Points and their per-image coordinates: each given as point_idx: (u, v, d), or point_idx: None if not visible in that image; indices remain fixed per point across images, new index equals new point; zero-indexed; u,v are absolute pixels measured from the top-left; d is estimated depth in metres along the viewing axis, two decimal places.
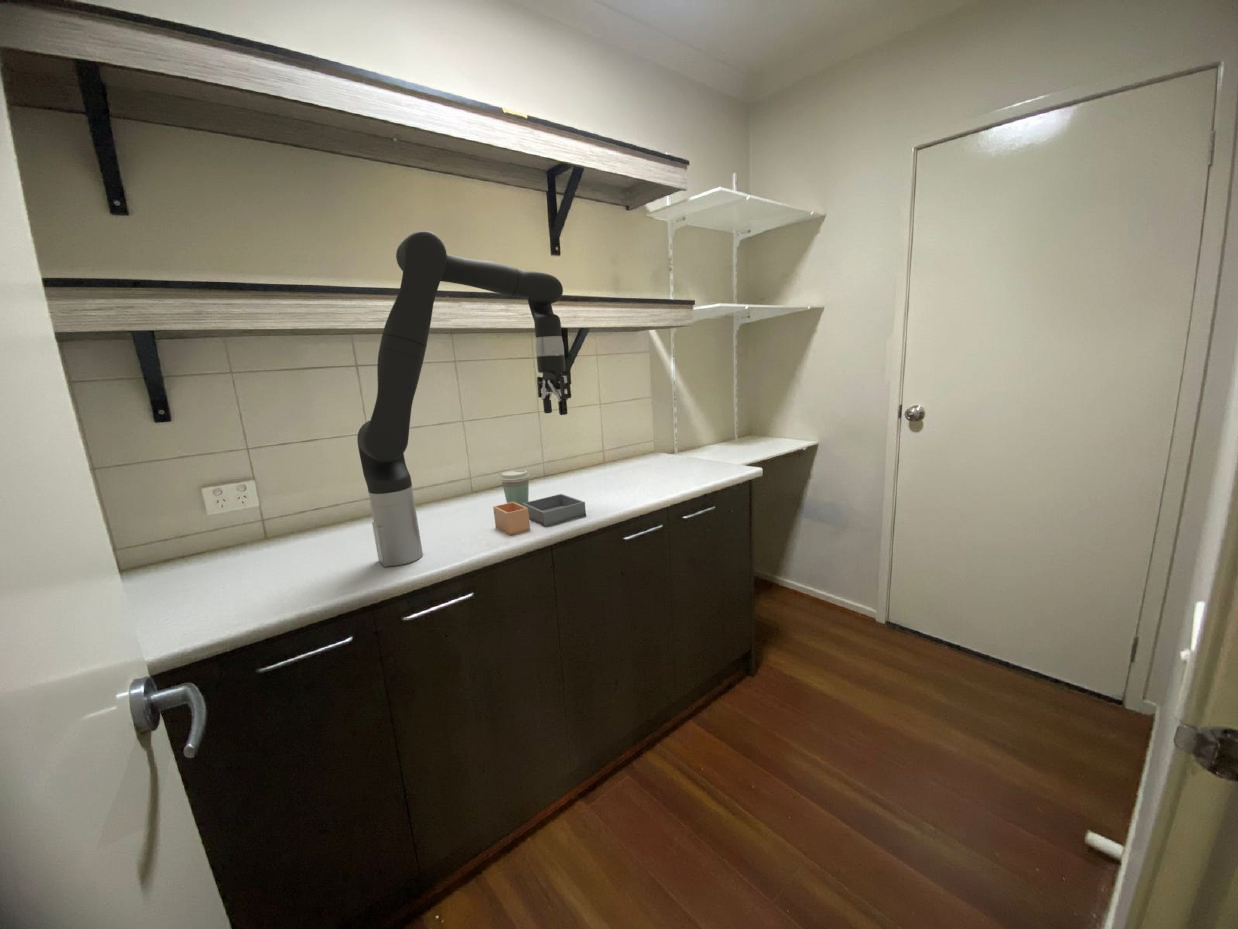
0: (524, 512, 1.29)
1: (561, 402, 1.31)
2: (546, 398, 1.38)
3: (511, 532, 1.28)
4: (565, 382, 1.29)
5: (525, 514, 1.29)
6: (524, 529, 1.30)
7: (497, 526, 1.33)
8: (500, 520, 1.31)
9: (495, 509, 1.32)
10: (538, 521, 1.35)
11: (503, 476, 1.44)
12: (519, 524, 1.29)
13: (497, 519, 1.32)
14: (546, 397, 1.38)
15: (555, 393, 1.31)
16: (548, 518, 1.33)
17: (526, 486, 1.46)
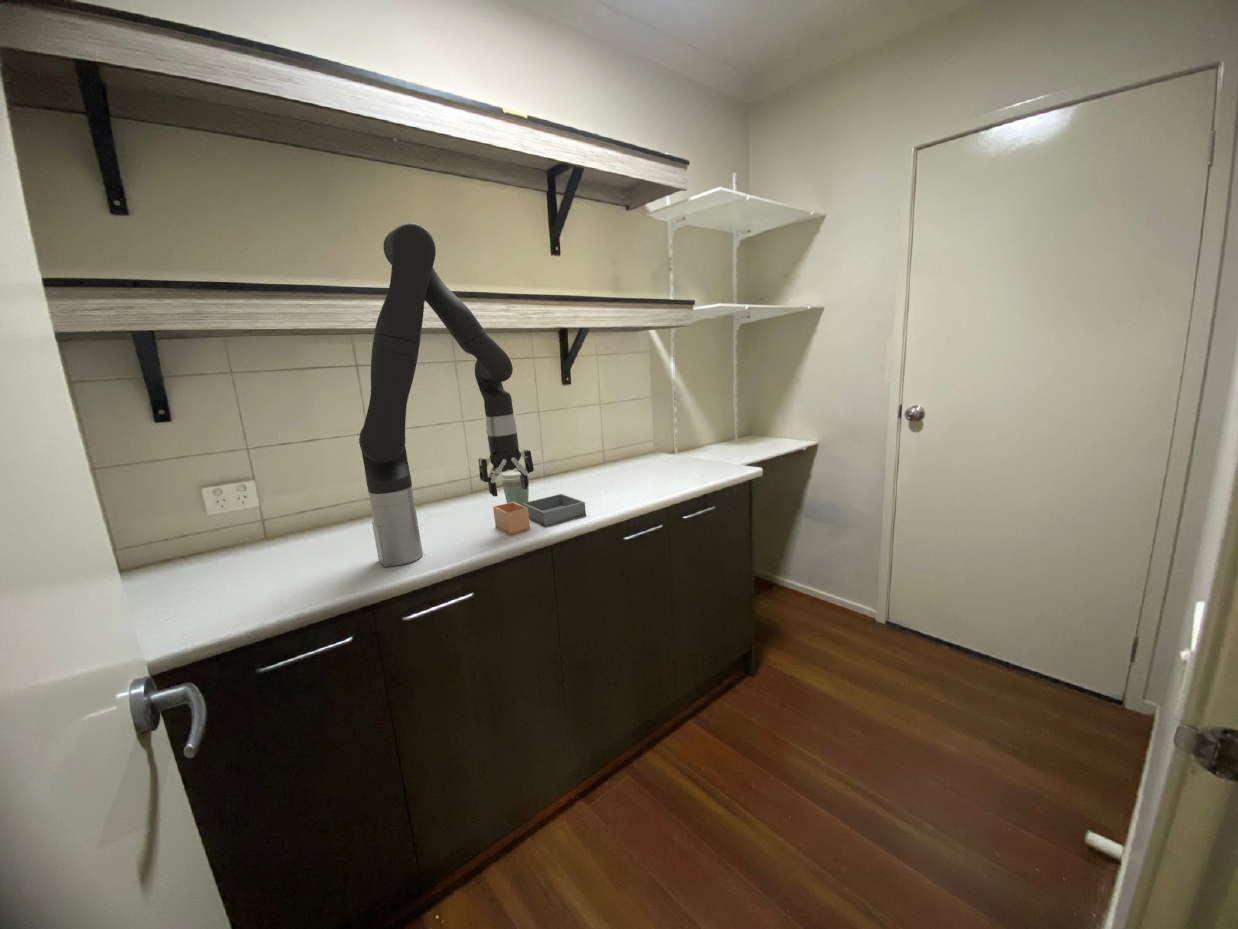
0: (524, 512, 1.29)
1: (526, 476, 1.32)
2: None
3: (511, 532, 1.28)
4: None
5: (525, 514, 1.29)
6: (524, 529, 1.30)
7: (497, 526, 1.33)
8: (500, 520, 1.31)
9: (495, 509, 1.32)
10: (538, 521, 1.35)
11: (503, 476, 1.44)
12: (519, 524, 1.29)
13: (497, 519, 1.32)
14: None
15: (521, 469, 1.30)
16: (548, 518, 1.33)
17: None
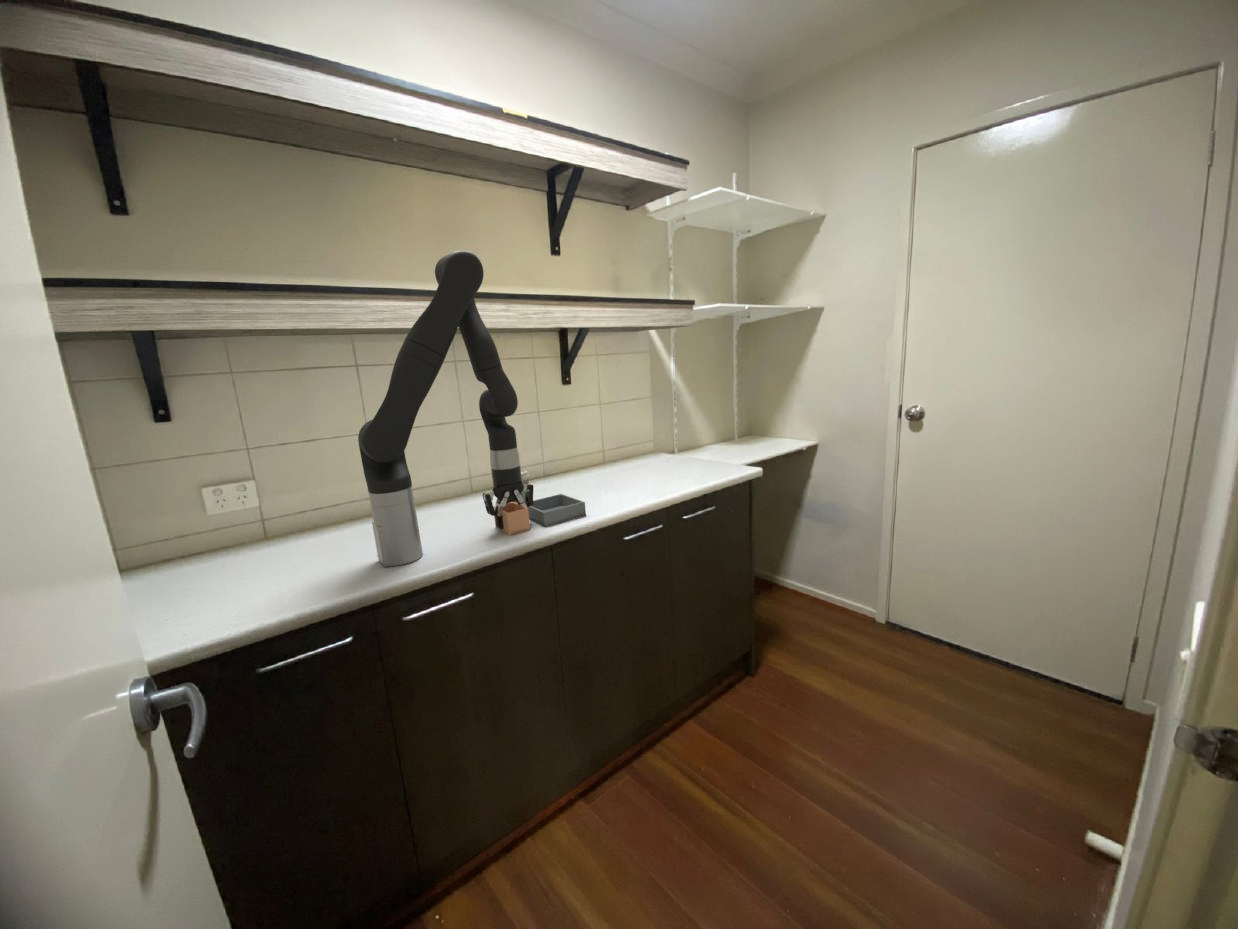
0: (524, 512, 1.29)
1: None
2: None
3: (511, 532, 1.28)
4: None
5: (525, 514, 1.29)
6: (524, 529, 1.30)
7: None
8: None
9: None
10: (538, 521, 1.35)
11: None
12: (519, 524, 1.29)
13: None
14: None
15: (522, 502, 1.32)
16: (548, 518, 1.33)
17: None
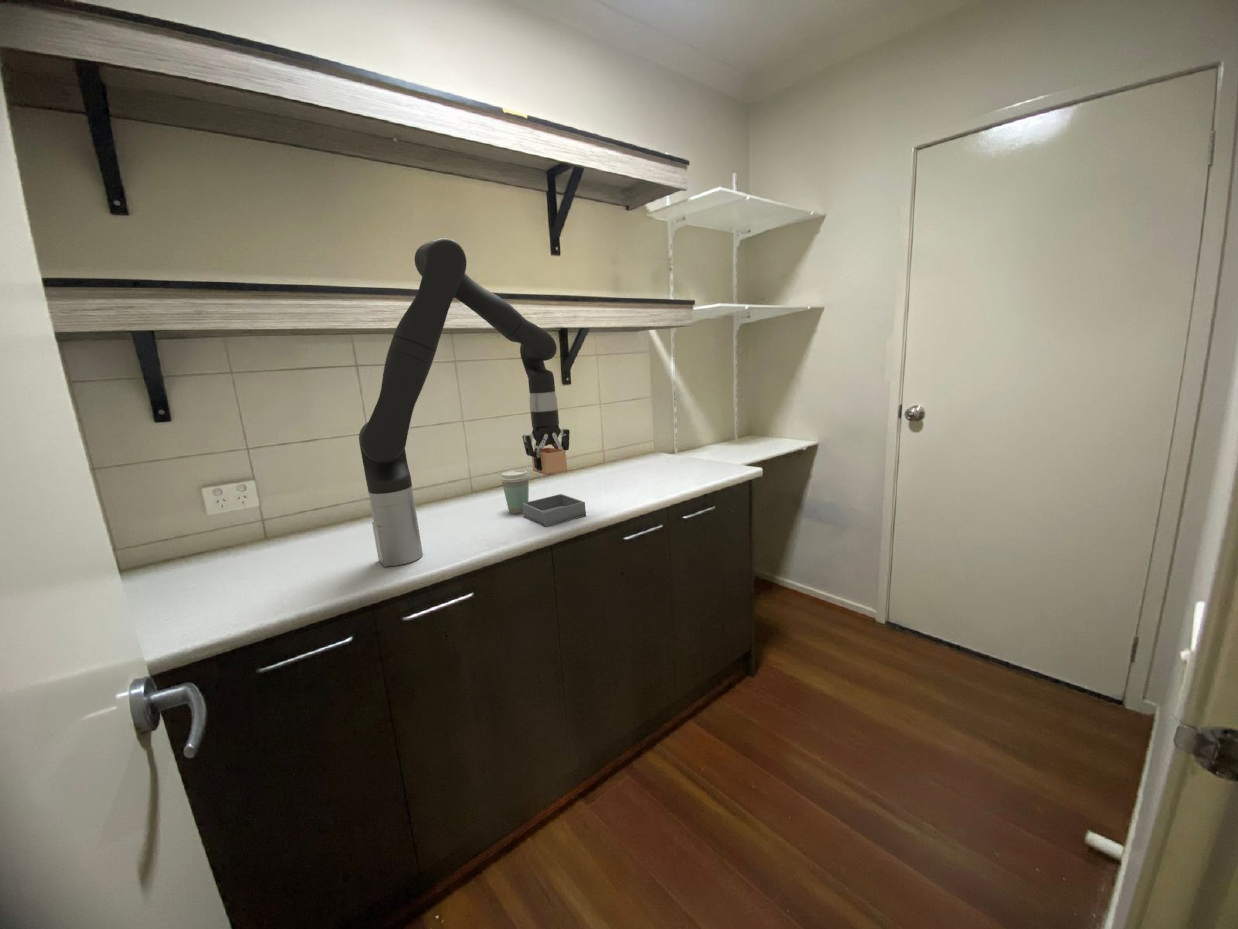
0: (561, 454, 1.35)
1: None
2: None
3: (550, 472, 1.33)
4: None
5: (562, 456, 1.35)
6: (562, 470, 1.35)
7: (535, 469, 1.39)
8: None
9: None
10: (538, 521, 1.35)
11: (503, 476, 1.44)
12: (557, 465, 1.34)
13: None
14: None
15: (559, 446, 1.37)
16: (548, 518, 1.33)
17: (526, 486, 1.46)
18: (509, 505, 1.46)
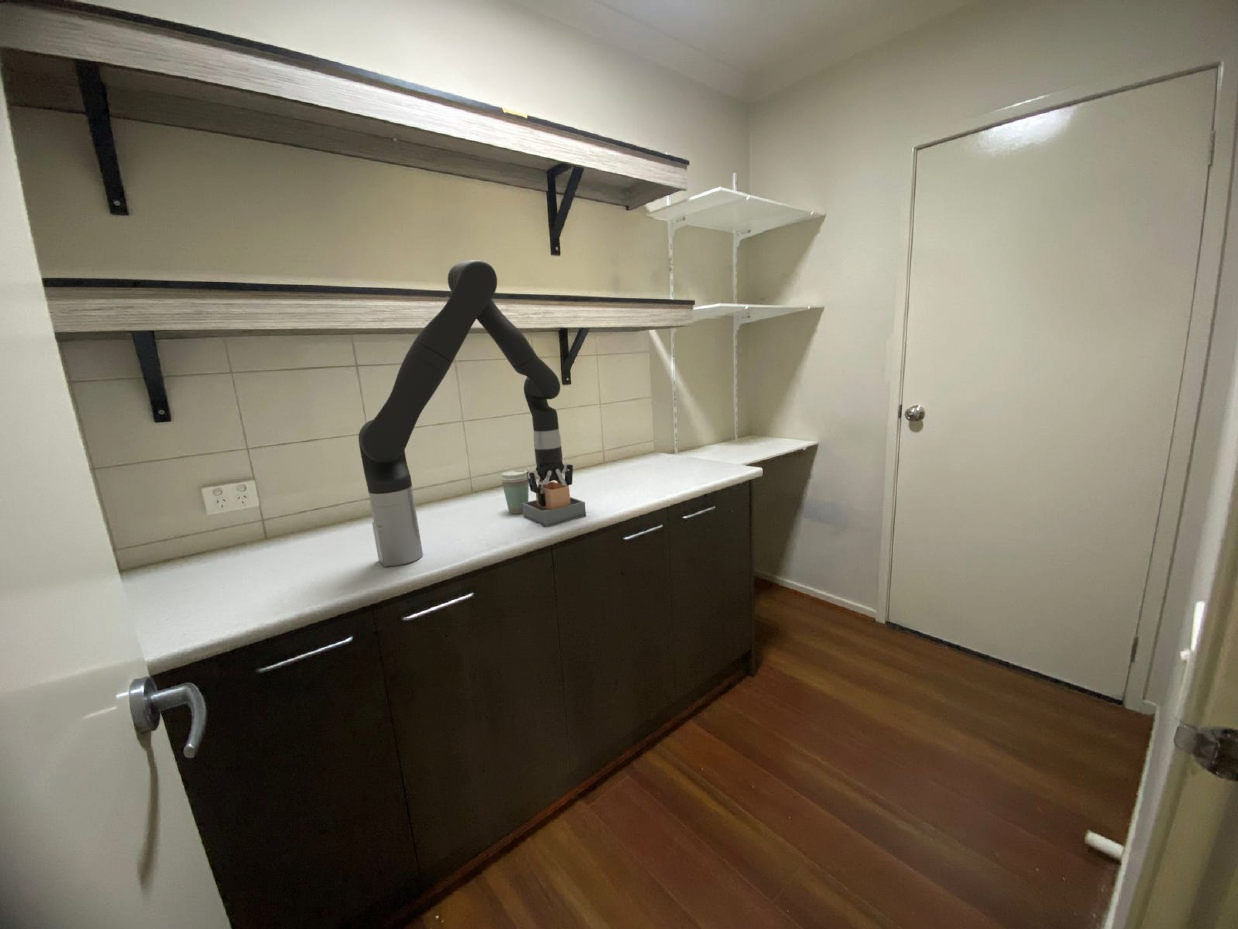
0: (565, 490, 1.37)
1: None
2: None
3: (553, 508, 1.35)
4: None
5: (566, 492, 1.37)
6: None
7: (539, 504, 1.41)
8: None
9: None
10: (538, 521, 1.35)
11: (503, 476, 1.44)
12: (561, 501, 1.37)
13: None
14: None
15: (562, 481, 1.40)
16: (548, 518, 1.33)
17: (526, 486, 1.46)
18: (509, 505, 1.46)
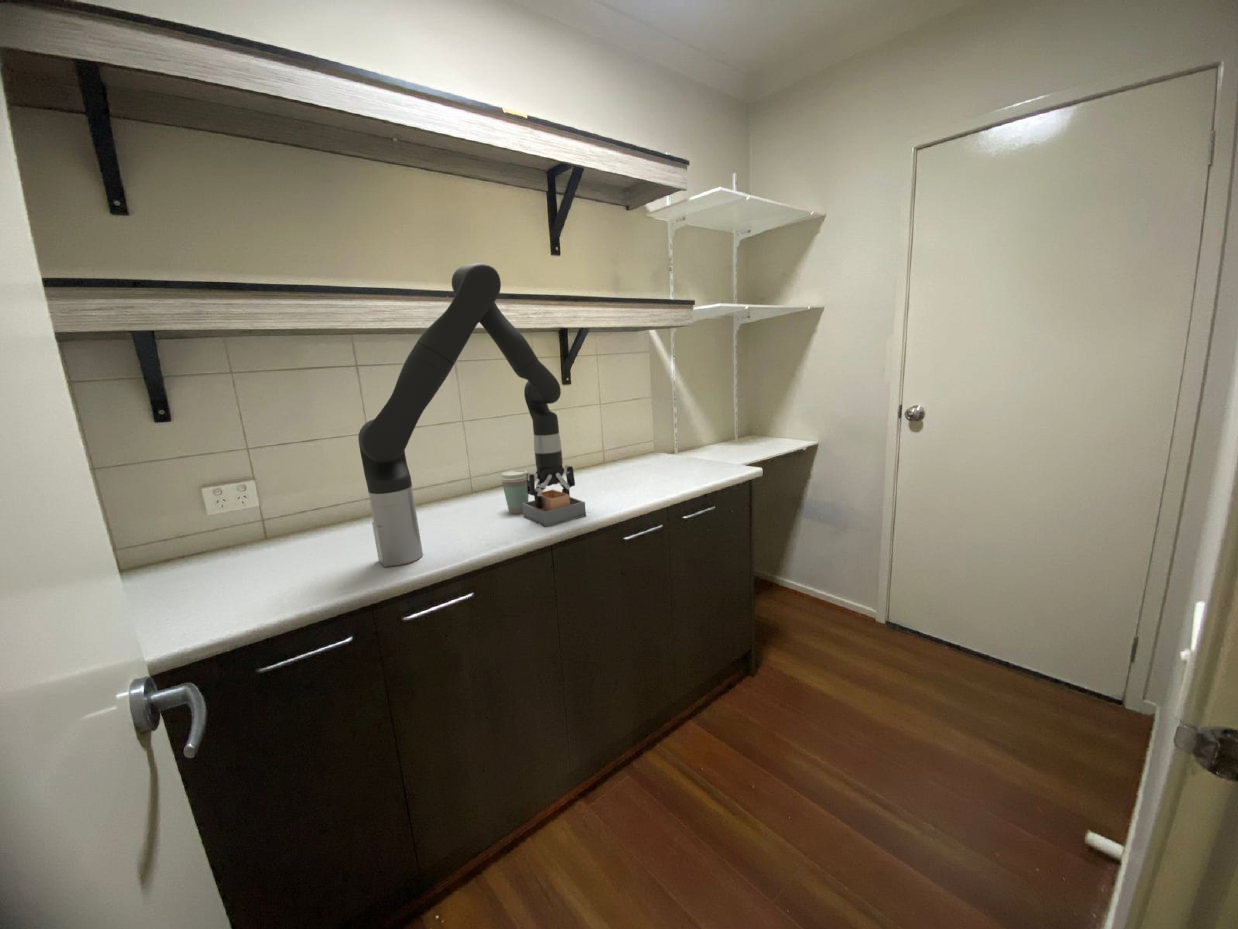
0: (565, 498, 1.37)
1: (568, 490, 1.42)
2: None
3: None
4: None
5: (566, 500, 1.38)
6: None
7: None
8: (543, 506, 1.39)
9: None
10: (538, 521, 1.35)
11: (503, 476, 1.44)
12: None
13: None
14: None
15: (564, 483, 1.40)
16: (548, 518, 1.33)
17: (526, 486, 1.46)
18: (509, 505, 1.46)
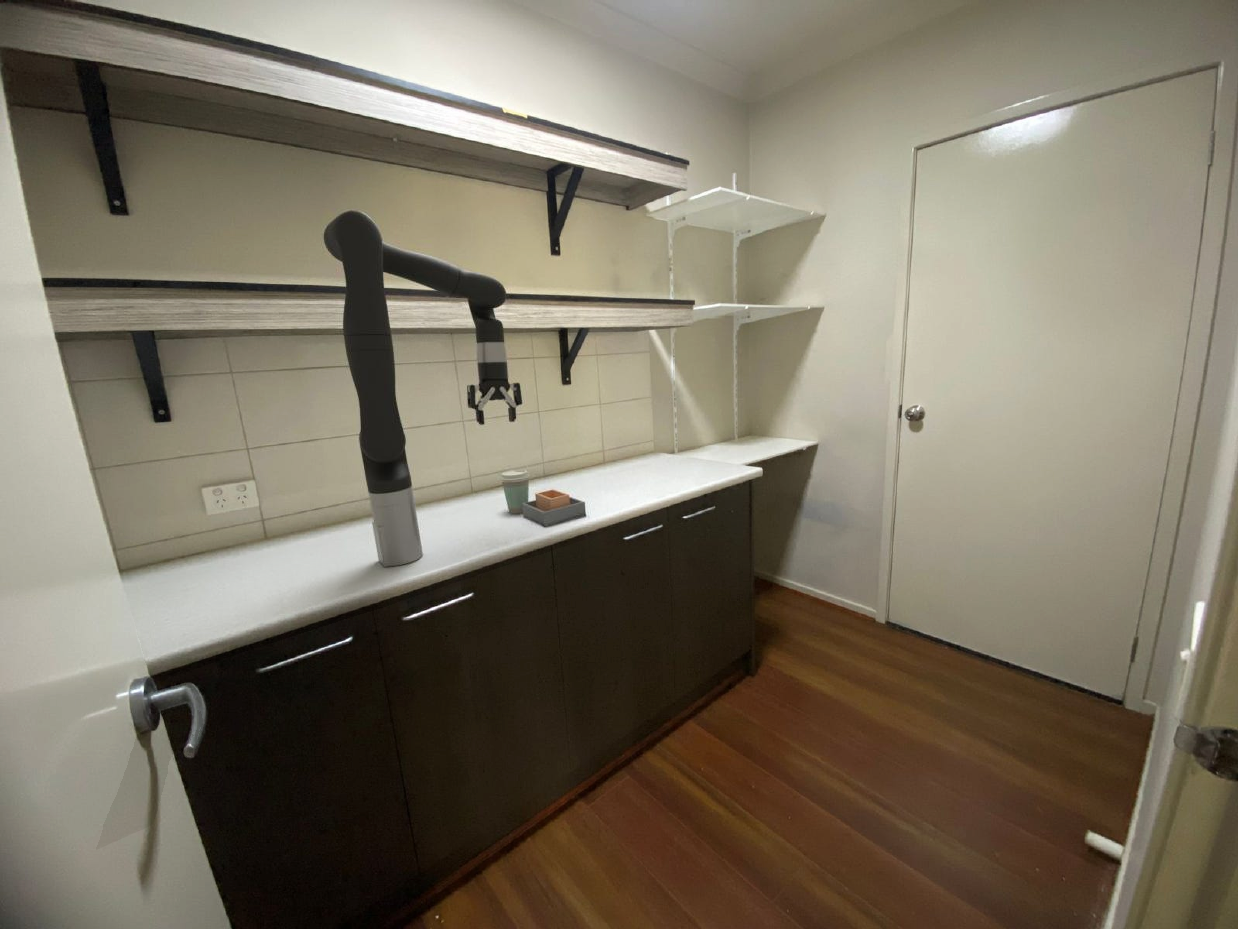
0: (565, 498, 1.37)
1: (514, 409, 1.32)
2: None
3: None
4: None
5: (566, 500, 1.38)
6: None
7: None
8: (543, 506, 1.39)
9: (537, 496, 1.41)
10: (538, 521, 1.35)
11: (503, 476, 1.44)
12: None
13: (539, 505, 1.41)
14: None
15: (510, 400, 1.30)
16: (548, 518, 1.33)
17: (526, 486, 1.46)
18: (509, 505, 1.46)
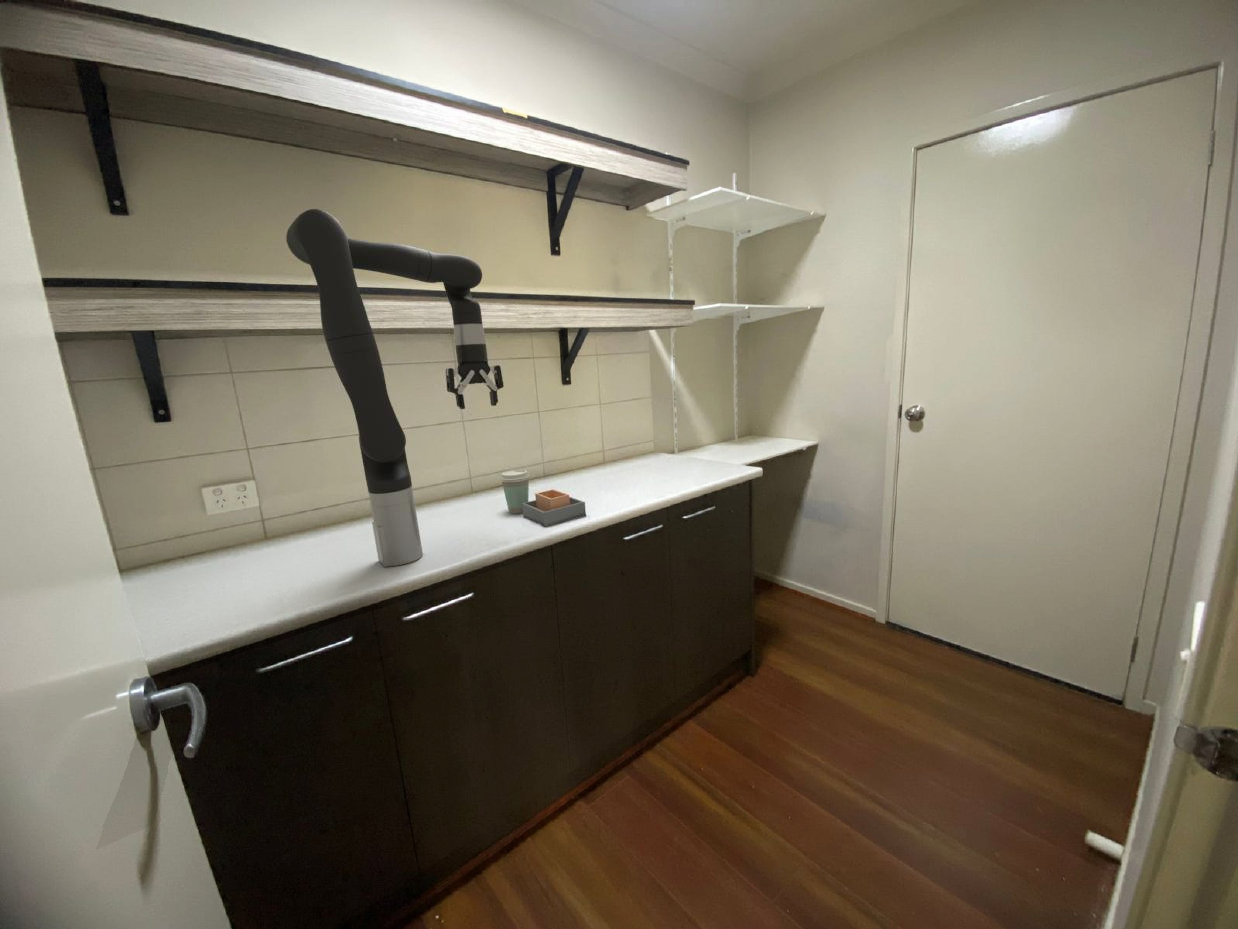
0: (565, 498, 1.37)
1: (495, 392, 1.29)
2: None
3: None
4: None
5: (566, 500, 1.38)
6: None
7: None
8: (543, 506, 1.39)
9: (537, 496, 1.41)
10: (538, 521, 1.35)
11: (503, 476, 1.44)
12: None
13: (539, 505, 1.41)
14: None
15: (490, 383, 1.27)
16: (548, 518, 1.33)
17: (526, 486, 1.46)
18: (509, 505, 1.46)
